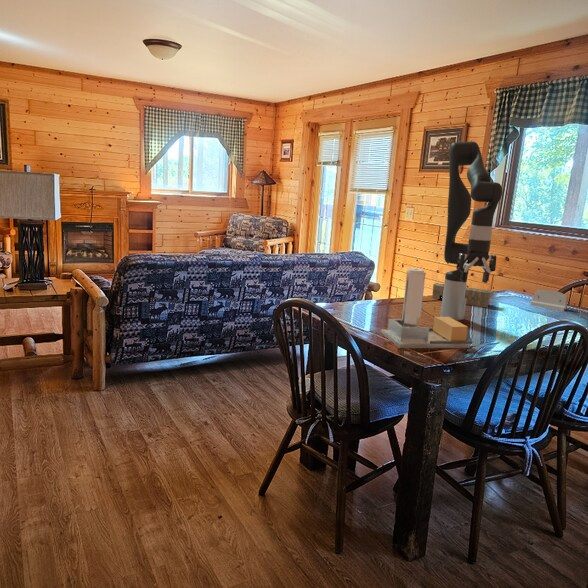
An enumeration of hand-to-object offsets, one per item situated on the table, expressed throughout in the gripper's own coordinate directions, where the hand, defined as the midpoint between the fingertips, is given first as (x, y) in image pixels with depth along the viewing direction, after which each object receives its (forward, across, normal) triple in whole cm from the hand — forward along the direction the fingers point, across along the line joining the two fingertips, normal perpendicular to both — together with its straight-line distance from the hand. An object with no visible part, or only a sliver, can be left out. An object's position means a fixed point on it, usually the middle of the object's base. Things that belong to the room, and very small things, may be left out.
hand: (474, 282), depth 184 cm
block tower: (+23, -33, -66) cm, 78 cm away
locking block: (+21, +7, 0) cm, 22 cm away
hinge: (+23, -78, -58) cm, 100 cm away
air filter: (+21, +23, 0) cm, 31 cm away
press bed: (+22, +17, 0) cm, 28 cm away
